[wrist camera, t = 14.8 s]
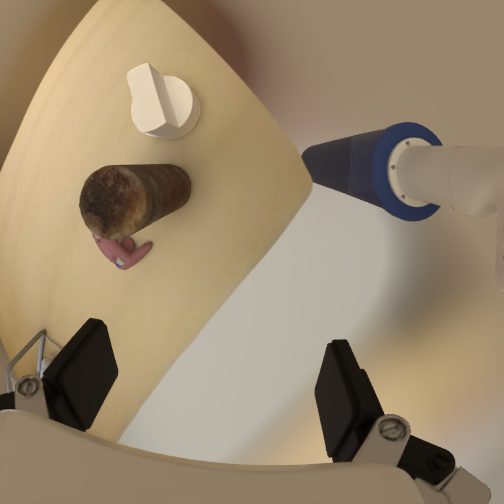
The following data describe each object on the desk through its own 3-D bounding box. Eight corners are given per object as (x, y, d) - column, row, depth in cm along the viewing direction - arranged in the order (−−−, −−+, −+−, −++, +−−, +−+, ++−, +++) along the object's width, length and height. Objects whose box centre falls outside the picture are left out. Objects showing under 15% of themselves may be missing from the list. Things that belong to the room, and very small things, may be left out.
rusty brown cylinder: (150, 161, 40) (79, 165, 21) (194, 164, 40) (147, 166, 21) (147, 208, 42) (79, 243, 23) (190, 212, 43) (144, 252, 24)
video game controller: (110, 213, 44) (82, 233, 39) (119, 200, 41) (89, 220, 36) (145, 255, 46) (120, 279, 41) (156, 245, 44) (130, 270, 38)
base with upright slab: (208, 127, 38) (191, 114, 27) (154, 148, 39) (121, 145, 28) (191, 77, 36) (170, 50, 24) (140, 99, 37) (105, 83, 25)
